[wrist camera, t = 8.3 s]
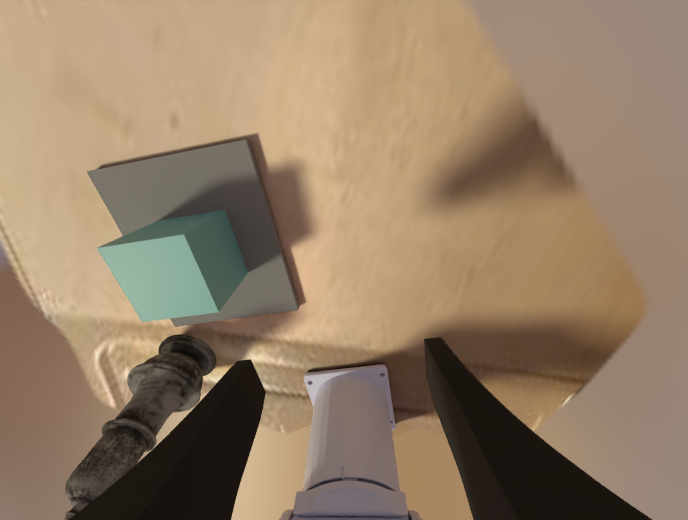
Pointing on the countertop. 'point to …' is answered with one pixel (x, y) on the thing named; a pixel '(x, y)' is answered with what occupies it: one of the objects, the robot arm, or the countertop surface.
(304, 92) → the countertop surface
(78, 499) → the dark grey chess piece
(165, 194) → the charcoal mat
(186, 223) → the teal cube
